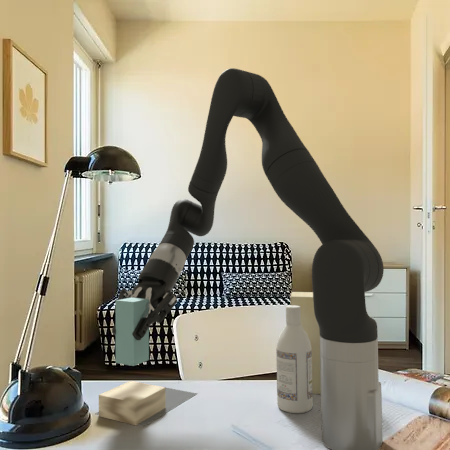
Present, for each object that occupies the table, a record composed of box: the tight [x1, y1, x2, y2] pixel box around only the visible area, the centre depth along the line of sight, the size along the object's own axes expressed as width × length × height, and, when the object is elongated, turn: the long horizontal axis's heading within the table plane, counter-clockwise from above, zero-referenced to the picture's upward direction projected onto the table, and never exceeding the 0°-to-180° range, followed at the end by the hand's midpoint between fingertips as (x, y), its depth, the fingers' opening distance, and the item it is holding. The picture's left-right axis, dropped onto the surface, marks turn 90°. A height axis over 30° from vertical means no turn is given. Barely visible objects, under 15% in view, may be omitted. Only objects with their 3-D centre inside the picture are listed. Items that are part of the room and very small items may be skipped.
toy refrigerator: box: [289, 291, 321, 395], centre depth 96 cm, size 8×7×21 cm
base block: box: [98, 380, 166, 426], centre depth 83 cm, size 9×9×4 cm
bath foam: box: [276, 305, 314, 414], centre depth 85 cm, size 7×7×20 cm
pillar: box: [115, 298, 150, 367], centre depth 83 cm, size 4×4×12 cm
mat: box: [94, 386, 198, 427], centre depth 87 cm, size 12×18×1 cm, turn 152°
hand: (125, 336), depth 82 cm, fingers closed on pillar, 4 cm apart
